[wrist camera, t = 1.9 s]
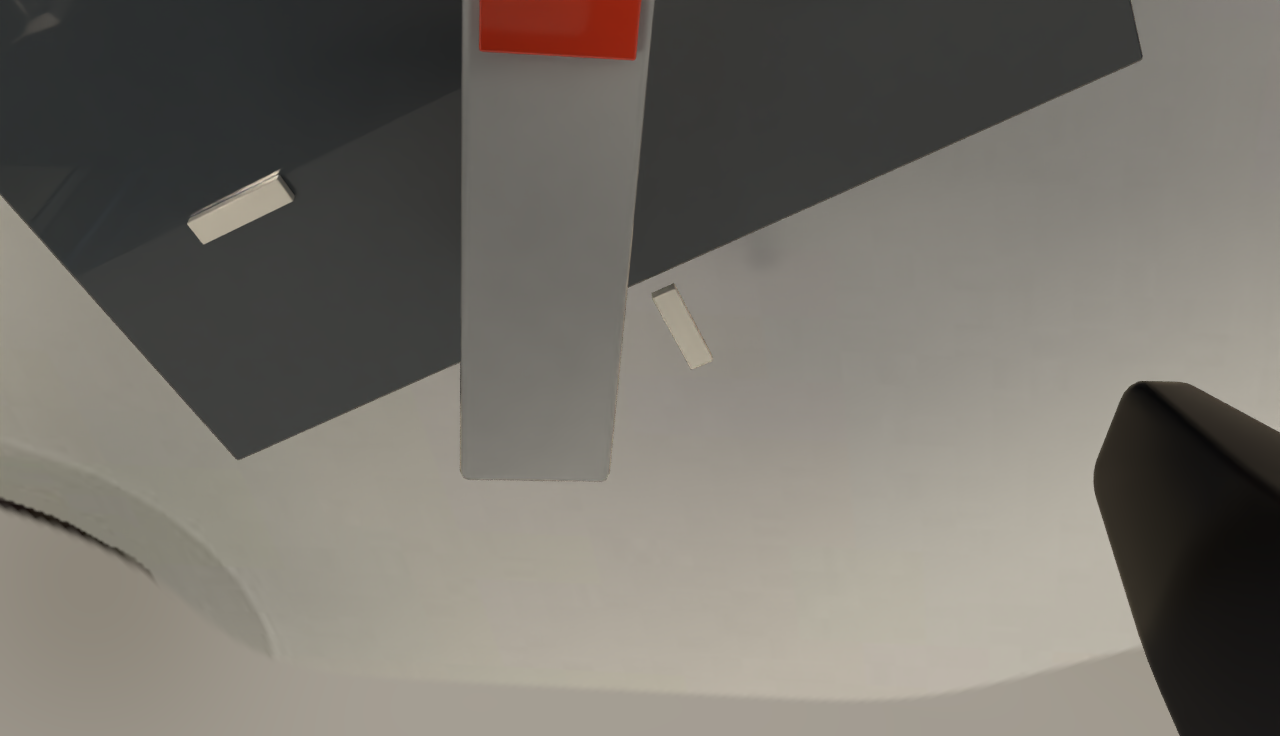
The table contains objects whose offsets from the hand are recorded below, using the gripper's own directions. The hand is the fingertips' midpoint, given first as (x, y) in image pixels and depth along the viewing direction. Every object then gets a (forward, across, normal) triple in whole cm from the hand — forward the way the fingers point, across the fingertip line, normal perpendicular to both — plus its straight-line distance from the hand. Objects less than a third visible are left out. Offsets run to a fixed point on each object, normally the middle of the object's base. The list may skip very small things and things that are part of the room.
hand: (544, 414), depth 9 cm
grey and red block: (+7, 0, 0) cm, 7 cm away
